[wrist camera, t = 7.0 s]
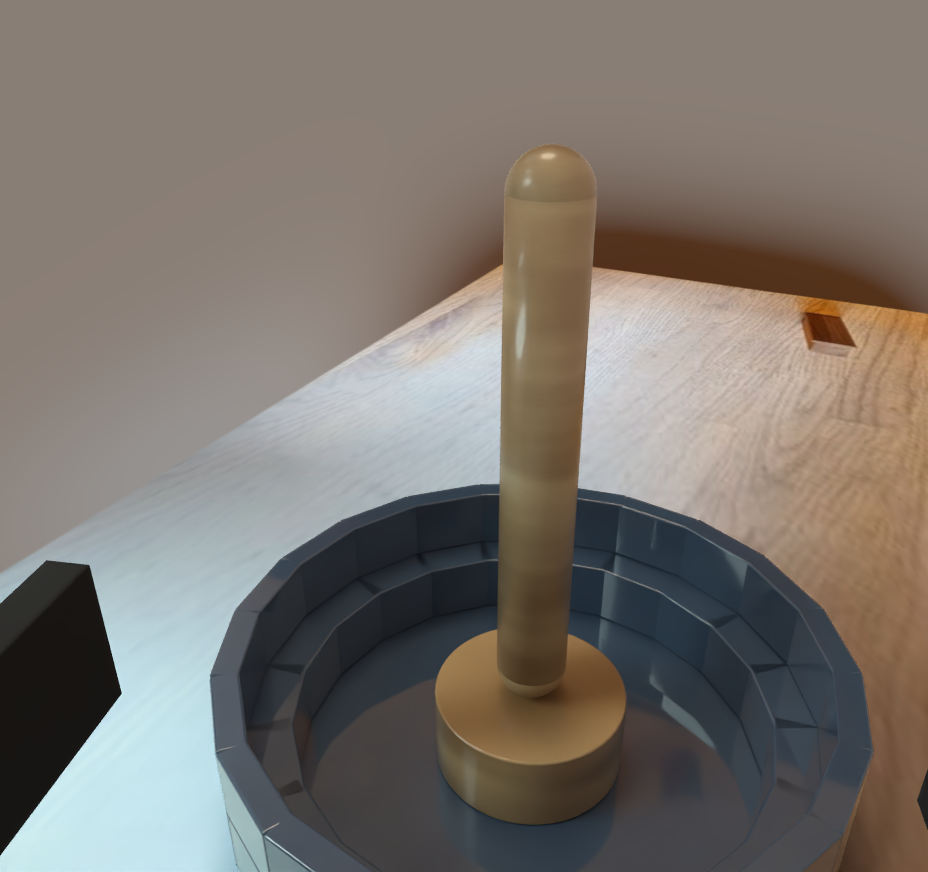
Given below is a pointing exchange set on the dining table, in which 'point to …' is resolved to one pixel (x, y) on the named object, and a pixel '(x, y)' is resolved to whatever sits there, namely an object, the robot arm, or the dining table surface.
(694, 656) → the dark grey round dish
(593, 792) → the beech masher
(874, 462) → the dining table surface
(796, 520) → the dining table surface
